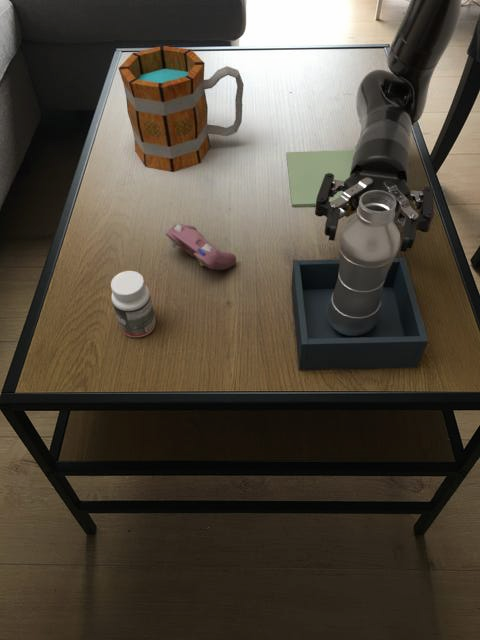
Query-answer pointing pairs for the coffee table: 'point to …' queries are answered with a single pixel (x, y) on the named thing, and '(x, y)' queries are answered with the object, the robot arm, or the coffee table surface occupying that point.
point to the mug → (172, 106)
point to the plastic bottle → (364, 264)
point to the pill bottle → (132, 304)
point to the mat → (315, 173)
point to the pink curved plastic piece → (199, 247)
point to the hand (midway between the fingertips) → (368, 241)
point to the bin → (365, 350)
